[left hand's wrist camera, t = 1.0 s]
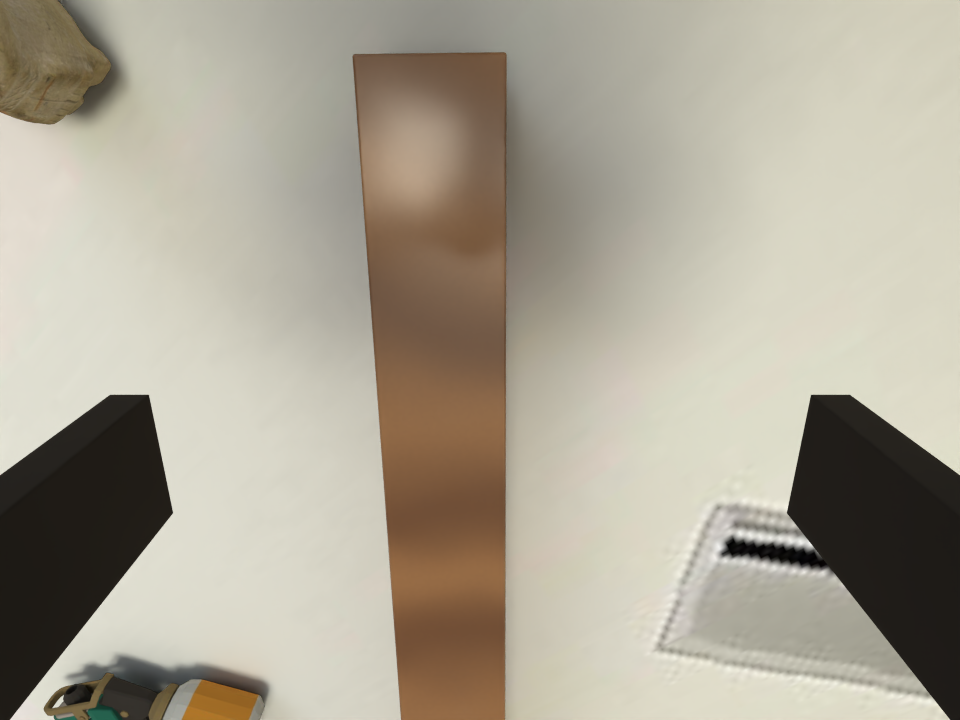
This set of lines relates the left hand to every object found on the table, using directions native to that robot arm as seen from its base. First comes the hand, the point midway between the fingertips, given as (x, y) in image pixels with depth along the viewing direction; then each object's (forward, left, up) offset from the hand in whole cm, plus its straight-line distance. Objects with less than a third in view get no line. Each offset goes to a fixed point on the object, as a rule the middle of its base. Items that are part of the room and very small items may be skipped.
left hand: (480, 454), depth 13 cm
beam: (+27, +4, -22) cm, 35 cm away
